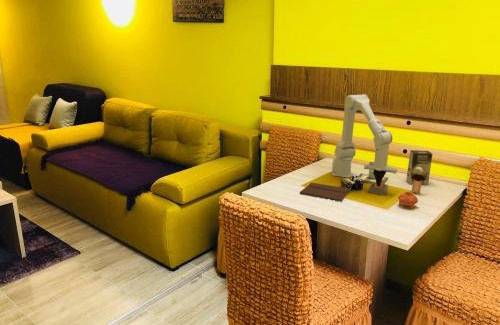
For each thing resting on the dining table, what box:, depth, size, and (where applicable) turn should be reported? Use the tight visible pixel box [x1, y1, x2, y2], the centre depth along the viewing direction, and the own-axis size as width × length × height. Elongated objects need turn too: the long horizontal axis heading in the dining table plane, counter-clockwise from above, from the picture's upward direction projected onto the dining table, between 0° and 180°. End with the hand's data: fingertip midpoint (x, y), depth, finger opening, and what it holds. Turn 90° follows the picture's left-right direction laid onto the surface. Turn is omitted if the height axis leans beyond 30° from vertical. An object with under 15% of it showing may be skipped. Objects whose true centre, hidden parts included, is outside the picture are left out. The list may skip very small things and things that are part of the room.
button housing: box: [368, 183, 389, 196], centre depth 192 cm, size 7×7×3 cm
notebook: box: [299, 182, 352, 203], centre depth 191 cm, size 15×20×2 cm
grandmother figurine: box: [409, 167, 427, 195], centre depth 189 cm, size 8×4×13 cm, turn 62°
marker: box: [368, 161, 375, 179], centre depth 207 cm, size 3×3×8 cm
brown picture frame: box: [357, 172, 389, 185], centre depth 209 cm, size 14×12×1 cm
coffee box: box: [405, 149, 433, 186], centre depth 202 cm, size 9×6×16 cm
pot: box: [398, 191, 419, 209], centre depth 174 cm, size 8×8×7 cm
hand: (378, 185), depth 191 cm, fingers closed, pressing on done button
